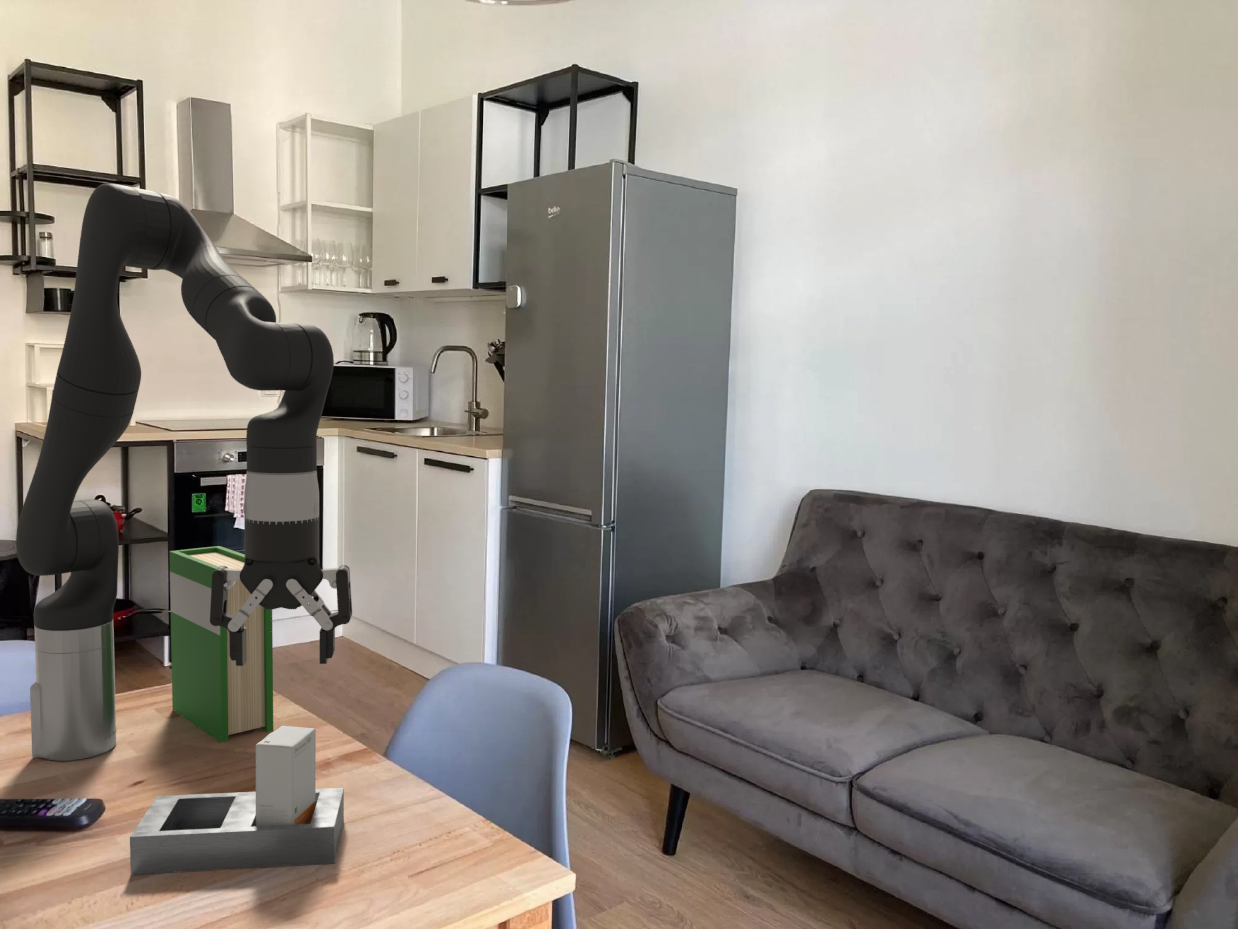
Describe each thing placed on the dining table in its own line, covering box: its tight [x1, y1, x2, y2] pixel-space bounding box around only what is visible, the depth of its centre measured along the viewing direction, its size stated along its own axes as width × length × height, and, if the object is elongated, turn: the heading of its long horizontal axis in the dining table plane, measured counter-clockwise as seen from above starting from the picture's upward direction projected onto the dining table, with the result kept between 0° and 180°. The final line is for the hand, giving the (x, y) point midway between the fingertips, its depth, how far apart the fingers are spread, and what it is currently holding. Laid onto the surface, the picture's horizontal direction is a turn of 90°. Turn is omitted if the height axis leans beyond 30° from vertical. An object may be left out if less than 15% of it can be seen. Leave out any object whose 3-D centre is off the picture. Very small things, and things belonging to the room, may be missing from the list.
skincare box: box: [255, 725, 317, 826], centre depth 111 cm, size 6×4×12 cm
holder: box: [129, 787, 345, 876], centre depth 111 cm, size 20×10×4 cm, turn 99°
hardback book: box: [169, 545, 274, 744], centre depth 148 cm, size 18×7×24 cm, turn 44°
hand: (282, 663), depth 110 cm, fingers open, 8 cm apart
